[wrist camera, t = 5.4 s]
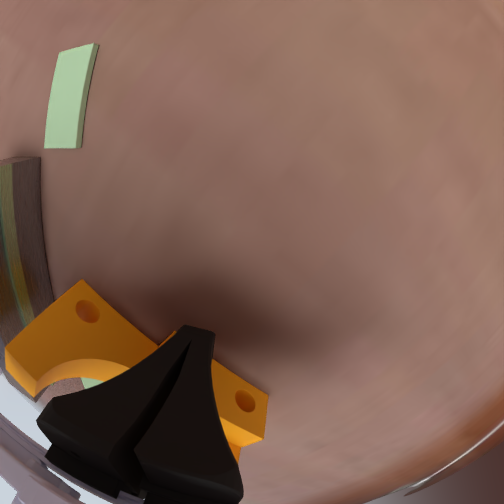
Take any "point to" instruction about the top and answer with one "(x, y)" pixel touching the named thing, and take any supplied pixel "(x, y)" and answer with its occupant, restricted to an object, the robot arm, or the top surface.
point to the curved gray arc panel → (21, 254)
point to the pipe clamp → (117, 359)
